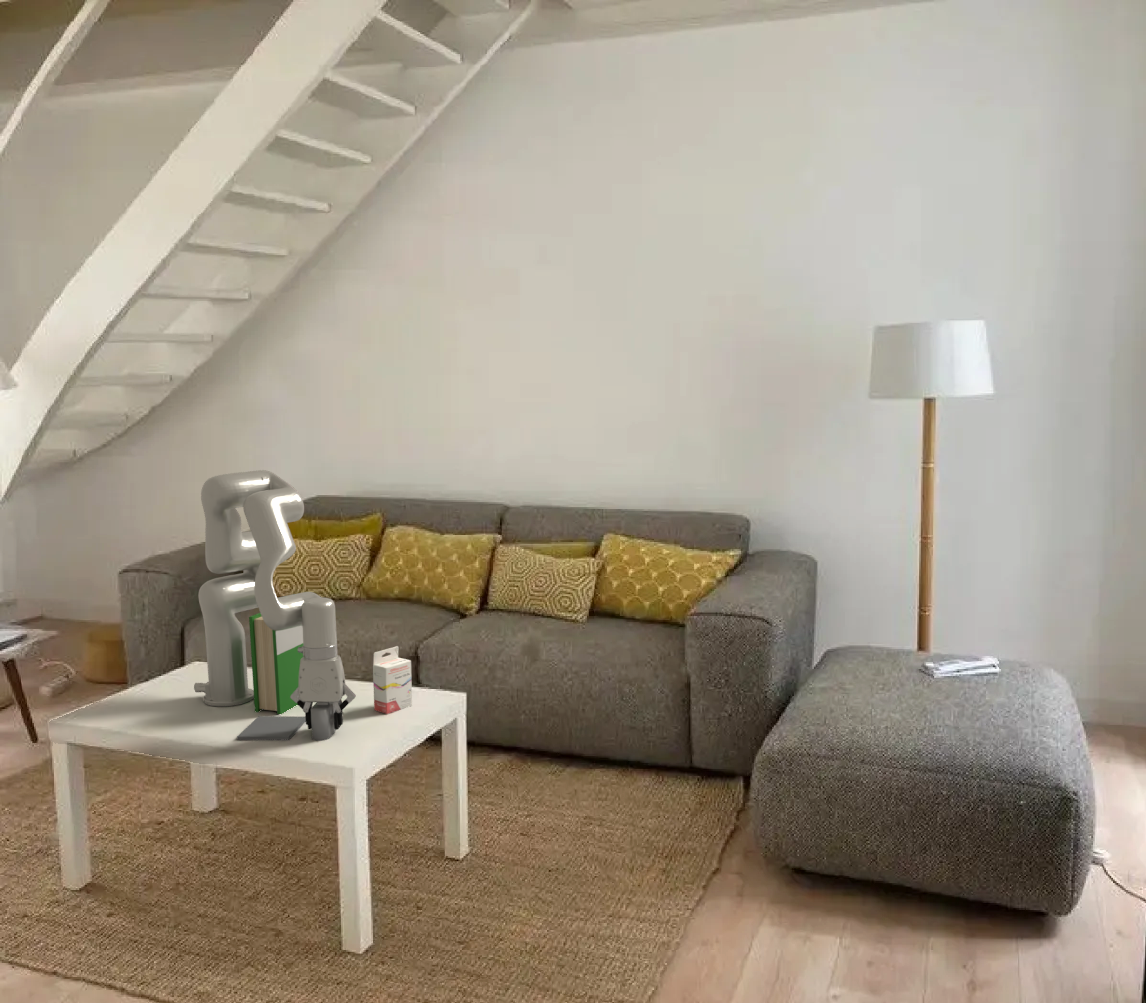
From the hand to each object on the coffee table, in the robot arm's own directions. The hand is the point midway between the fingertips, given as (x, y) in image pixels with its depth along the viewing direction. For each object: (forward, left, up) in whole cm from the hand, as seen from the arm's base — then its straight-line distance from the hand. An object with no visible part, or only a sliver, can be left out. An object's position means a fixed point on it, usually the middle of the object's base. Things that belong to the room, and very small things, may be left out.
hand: (324, 726), depth 265 cm
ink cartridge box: (+12, +18, -2) cm, 22 cm away
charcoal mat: (-13, +2, -2) cm, 13 cm away
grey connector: (0, 0, -2) cm, 2 cm away
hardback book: (-16, +22, -2) cm, 27 cm away
